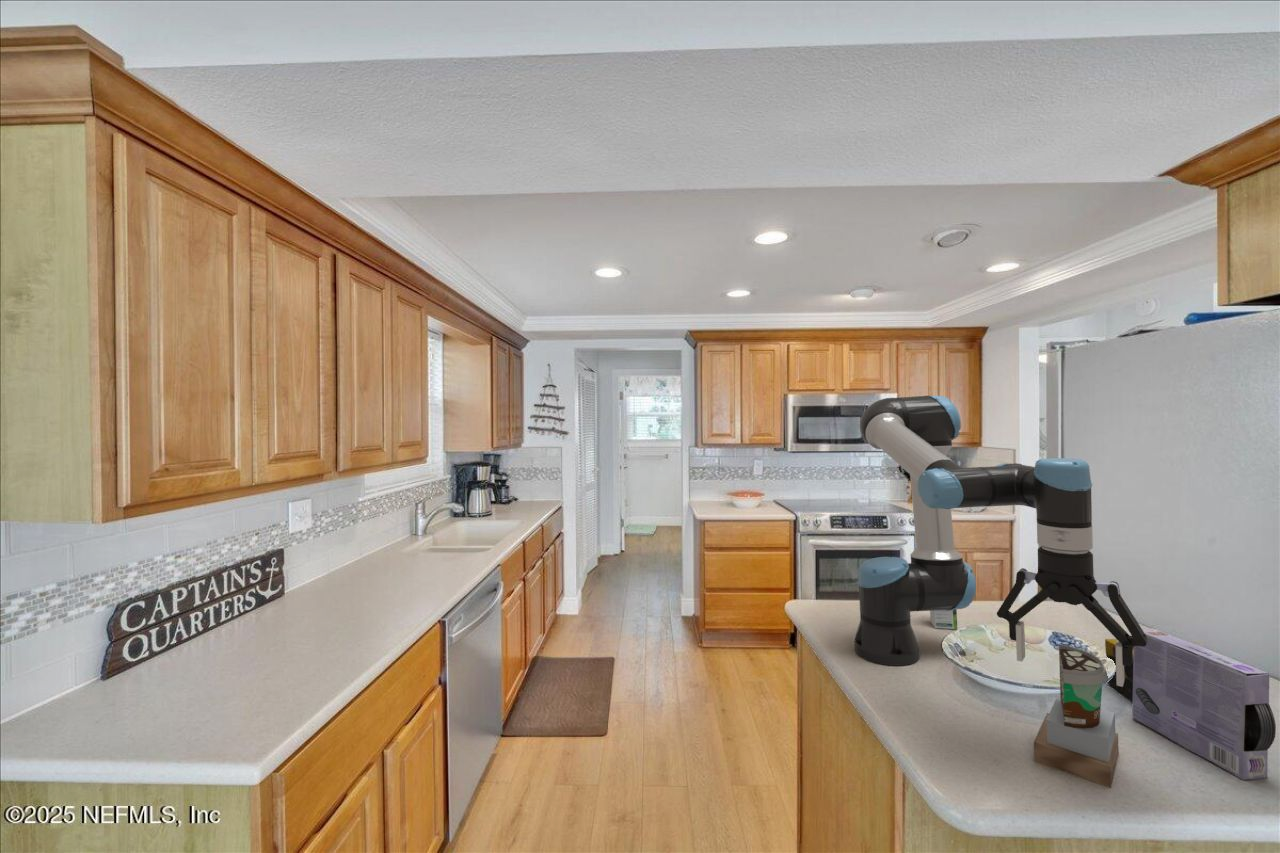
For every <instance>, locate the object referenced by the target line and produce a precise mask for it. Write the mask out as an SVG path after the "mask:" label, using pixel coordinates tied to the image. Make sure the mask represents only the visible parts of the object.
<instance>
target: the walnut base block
mask: <svg viewBox="0 0 1280 853" xmlns="http://www.w3.org/2000/svg"><path fill="white" fill-rule="evenodd" d="M1049 713H1050V712H1049ZM1049 713H1048V712H1047V713H1046V715H1045V717H1044V719H1043V721H1042V723H1041V725H1040V727H1039V730H1038V732H1037V733H1036V736H1035V738H1034V740H1033V755H1034V756H1033V757H1034V759H1033V760H1034V762H1035V763H1038V764H1041V765H1043V766H1047V767H1050V768H1053V769H1056V770H1059V771H1061V772H1064V773H1067V774H1071V775H1073V776H1076V777H1079V778H1082V779H1085V780H1088V781H1091V782H1092V783H1093V782H1094V783H1097V784H1099V785H1102V786H1105V787H1108V788H1112V785H1113V780H1114V776H1115V771H1116V766H1117V762H1118V756H1119V753H1120V752H1119V749H1120V747H1119V732H1115V739H1114V743H1113V747H1112V752H1111V756H1110V760H1109V763H1108V762H1105V761H1102V760H1098V759H1095V758H1092V757H1089V756H1086V755H1083V754H1080V753H1077V752H1074V751H1071V750H1068V749H1064V748H1061V747H1058V746H1055V745H1052V744H1049V743H1047V724H1046V719H1047V717H1048V715H1049Z"/></svg>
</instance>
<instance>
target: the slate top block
mask: <svg viewBox="0 0 1280 853" xmlns="http://www.w3.org/2000/svg"><path fill="white" fill-rule="evenodd" d="M1115 714H1116V713H1115V711H1114V712H1113V711H1109V710H1106V709H1104V708H1103V709H1102V708H1101V709H1100V723H1099V725H1098V726H1096V727H1093V728H1085V729H1083V728H1072V727H1067V726H1064V721H1063V714H1062V707H1061V699H1060V697H1059V696H1056V698H1055V700H1054V703H1053V705H1052V707H1051V709H1050V711H1049V715H1048V717H1047V719H1046V724H1047V743H1049V744H1052V745H1055V746H1058V747H1061V748H1064V749H1068V750H1071V751H1074V752H1077V753H1080V754H1083V755H1086V756H1089V757H1092V758H1095V759H1098V760H1102V761H1105V762H1108V763H1109V760H1110V756H1111V752H1112V747H1113V743H1114V739H1115V733H1116V715H1115Z"/></svg>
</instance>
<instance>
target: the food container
mask: <svg viewBox="0 0 1280 853" xmlns="http://www.w3.org/2000/svg"><path fill="white" fill-rule="evenodd" d="M1058 656H1059V658H1058V659H1059V663H1058V664H1059V690H1060V693H1059V694H1060V697H1059V698H1060V699H1061V707H1062V714H1063V721H1064V726H1067V727H1072V728H1083V729H1085V728H1093V727H1096V726H1098V725H1099V723H1100V709H1102V707H1101V706H1102V696H1103V695H1102V694H1103V693H1102V692H1103V684H1104V683H1106V682H1107V680H1108V676H1107V669H1106V667H1105V665H1104V663H1103V661H1102V660H1101V659H1100V658H1099V657H1098V656H1096V655H1094V654H1092V653H1090V652H1088V651H1085V650H1084V649H1080V648H1077V647H1074V646H1070V645H1065V644H1059V643H1058Z"/></svg>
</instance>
